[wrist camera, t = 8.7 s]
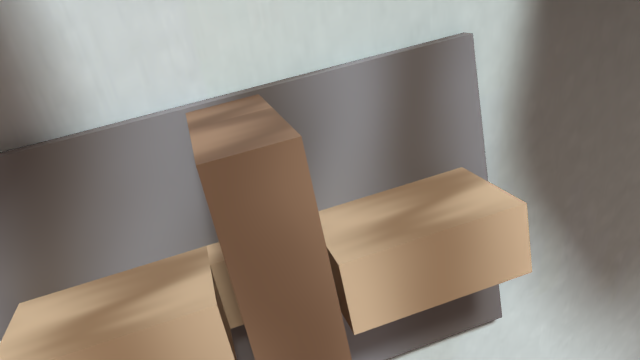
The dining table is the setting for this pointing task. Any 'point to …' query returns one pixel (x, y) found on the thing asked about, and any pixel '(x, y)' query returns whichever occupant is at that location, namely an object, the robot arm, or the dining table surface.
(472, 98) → the slotted stand
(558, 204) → the dining table surface
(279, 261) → the brown rectangular block
